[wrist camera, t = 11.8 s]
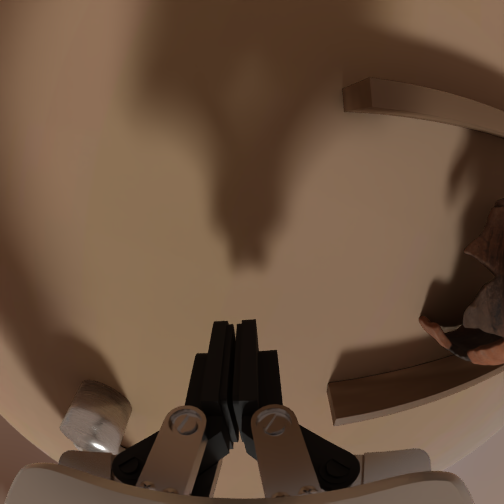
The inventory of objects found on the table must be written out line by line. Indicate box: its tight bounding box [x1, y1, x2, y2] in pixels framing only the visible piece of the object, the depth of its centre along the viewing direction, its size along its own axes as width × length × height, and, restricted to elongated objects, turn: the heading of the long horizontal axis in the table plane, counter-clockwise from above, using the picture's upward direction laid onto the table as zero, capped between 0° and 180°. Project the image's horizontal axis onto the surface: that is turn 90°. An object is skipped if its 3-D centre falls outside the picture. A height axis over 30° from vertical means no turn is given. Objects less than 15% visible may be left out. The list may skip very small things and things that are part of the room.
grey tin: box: [60, 380, 132, 455], centre depth 16 cm, size 5×5×5 cm
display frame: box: [327, 78, 504, 426], centre depth 11 cm, size 18×19×3 cm
